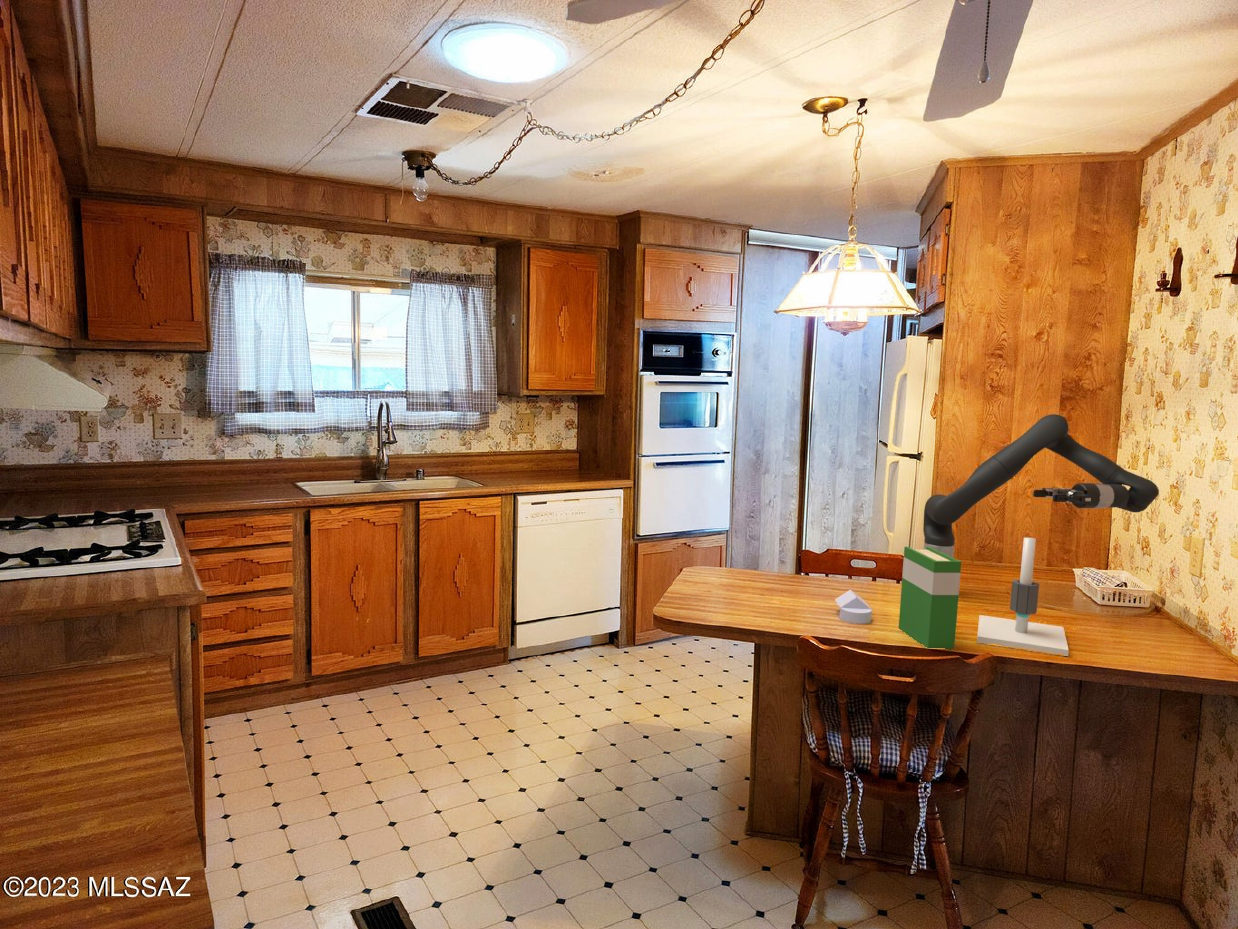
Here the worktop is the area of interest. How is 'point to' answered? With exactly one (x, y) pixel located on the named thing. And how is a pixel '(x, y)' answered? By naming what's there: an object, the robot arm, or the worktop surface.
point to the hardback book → (930, 597)
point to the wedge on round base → (853, 608)
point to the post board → (1022, 639)
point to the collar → (1024, 597)
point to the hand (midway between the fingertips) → (1043, 495)
